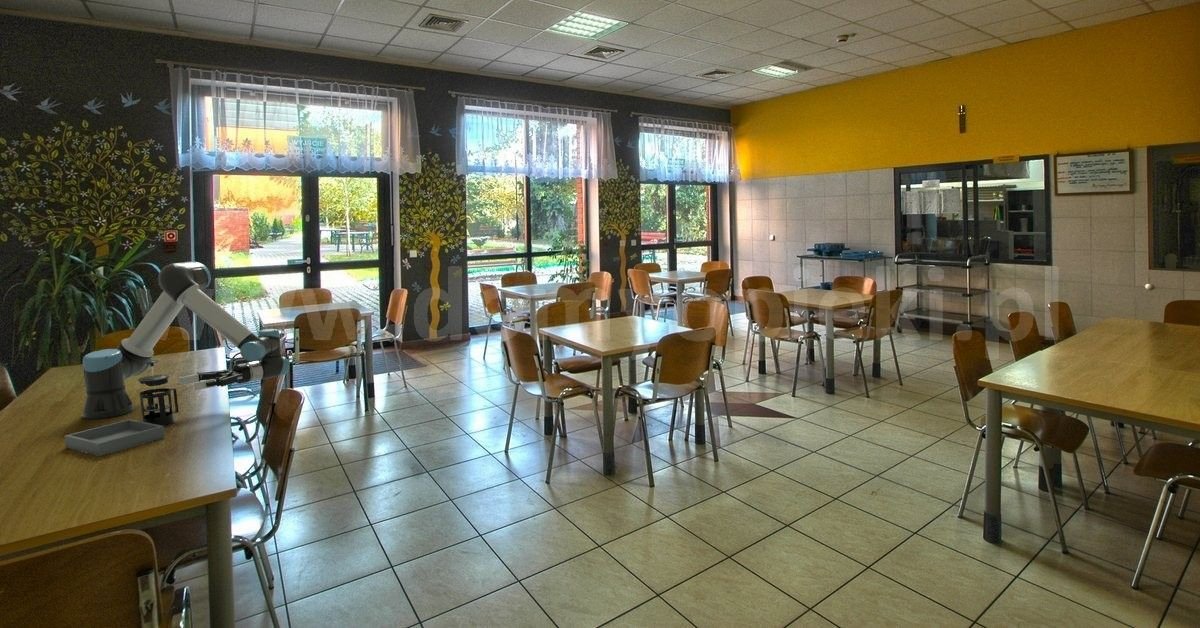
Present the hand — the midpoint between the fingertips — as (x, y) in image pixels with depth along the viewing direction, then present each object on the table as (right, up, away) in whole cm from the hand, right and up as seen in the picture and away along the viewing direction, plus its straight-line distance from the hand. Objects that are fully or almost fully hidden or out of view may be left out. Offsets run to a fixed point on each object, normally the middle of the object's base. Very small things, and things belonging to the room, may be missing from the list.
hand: (186, 383), depth 230 cm
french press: (-6, -14, -6) cm, 16 cm away
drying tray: (-6, -16, -26) cm, 31 cm away
